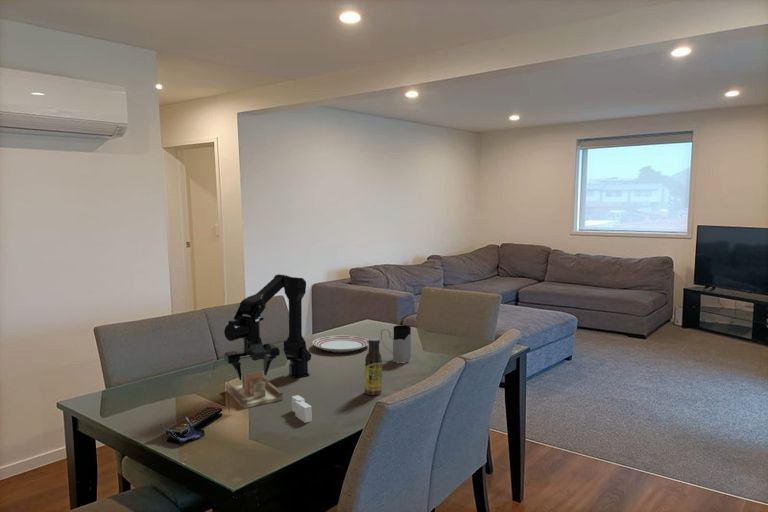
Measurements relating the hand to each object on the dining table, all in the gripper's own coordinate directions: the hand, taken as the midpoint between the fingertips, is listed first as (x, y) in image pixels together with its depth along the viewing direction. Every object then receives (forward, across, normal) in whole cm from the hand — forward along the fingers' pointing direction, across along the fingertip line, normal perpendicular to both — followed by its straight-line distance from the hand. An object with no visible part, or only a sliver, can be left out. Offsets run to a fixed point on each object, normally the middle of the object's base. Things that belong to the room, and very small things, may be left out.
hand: (253, 377), depth 189 cm
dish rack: (+7, 0, 0) cm, 7 cm away
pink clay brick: (+6, 0, 0) cm, 6 cm away
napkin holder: (+7, +7, -26) cm, 28 cm away
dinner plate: (+7, +57, +39) cm, 70 cm away
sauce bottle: (+7, +37, -22) cm, 44 cm away
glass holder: (+7, +67, +7) cm, 68 cm away
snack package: (+7, -29, -21) cm, 37 cm away
